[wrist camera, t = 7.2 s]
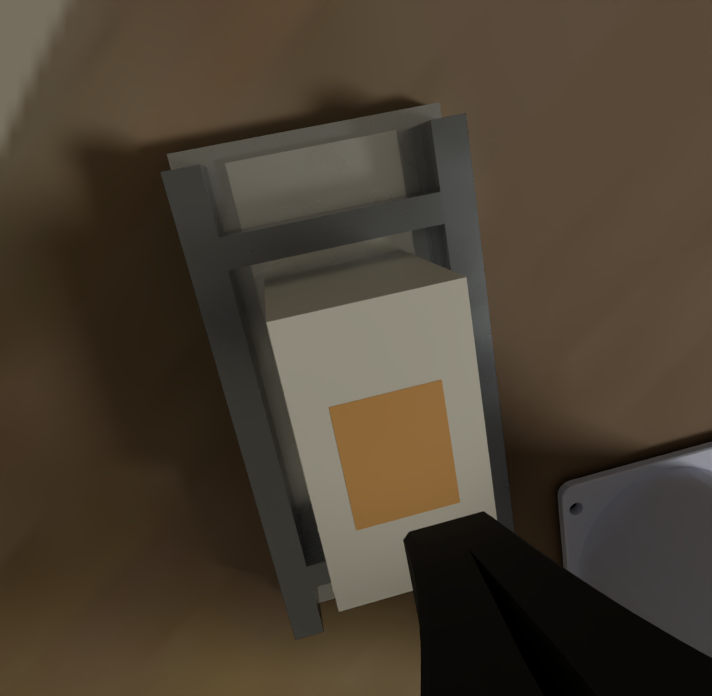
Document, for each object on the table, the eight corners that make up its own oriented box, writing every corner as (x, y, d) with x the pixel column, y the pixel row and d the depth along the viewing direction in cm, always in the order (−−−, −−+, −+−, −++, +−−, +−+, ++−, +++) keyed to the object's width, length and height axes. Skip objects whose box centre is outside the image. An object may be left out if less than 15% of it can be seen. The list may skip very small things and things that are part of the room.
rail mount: (488, 538, 20) (520, 586, 18) (294, 593, 19) (298, 652, 17) (431, 106, 15) (463, 90, 13) (171, 155, 15) (154, 149, 12)
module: (437, 463, 17) (503, 565, 13) (317, 494, 17) (338, 612, 12) (402, 249, 15) (466, 277, 11) (264, 280, 15) (265, 322, 10)
